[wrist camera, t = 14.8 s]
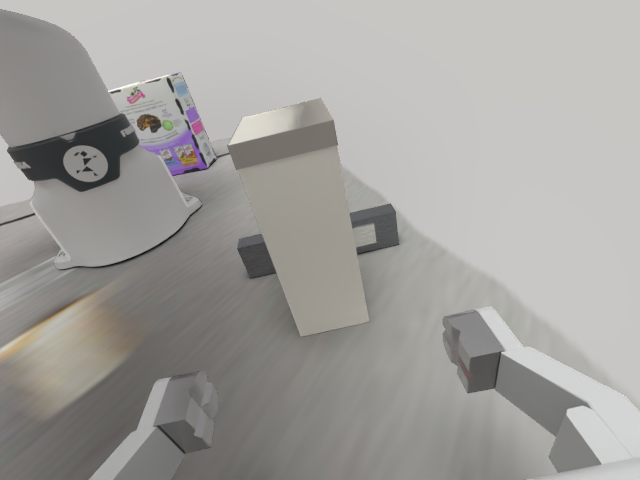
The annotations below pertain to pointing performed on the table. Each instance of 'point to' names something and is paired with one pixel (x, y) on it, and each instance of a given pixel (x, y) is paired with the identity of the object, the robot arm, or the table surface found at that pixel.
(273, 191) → the carton
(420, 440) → the table surface
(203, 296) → the table surface
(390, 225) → the rail
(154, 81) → the candy box
